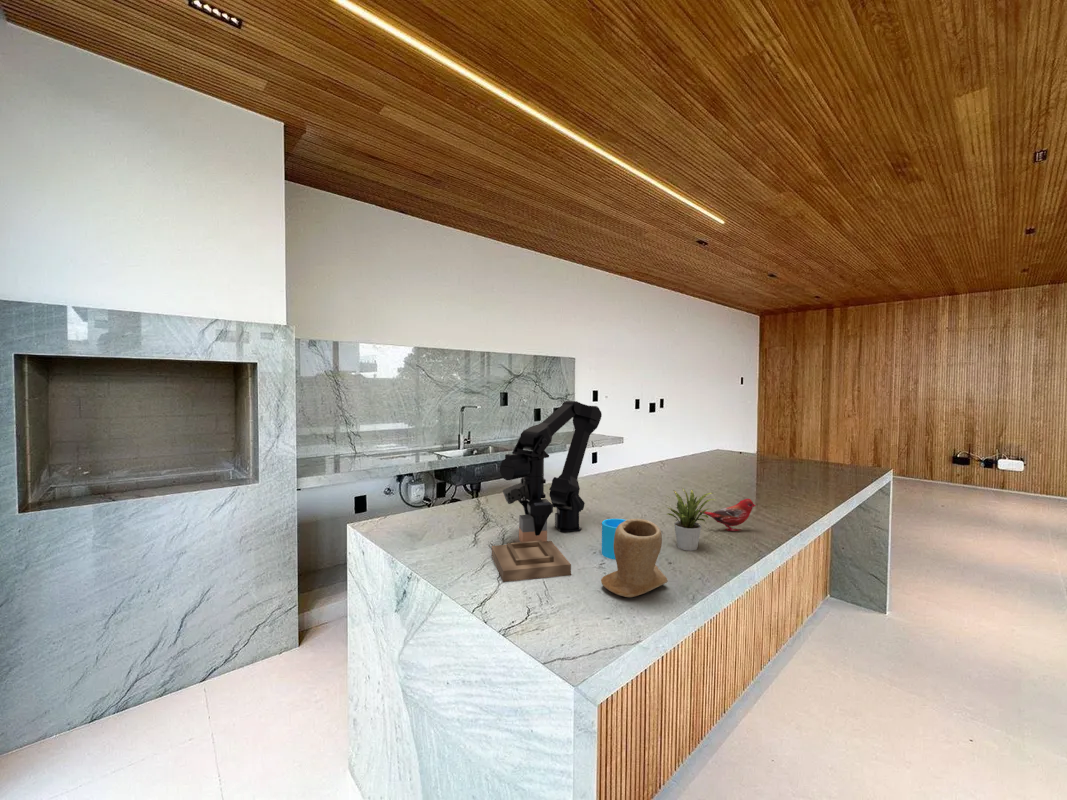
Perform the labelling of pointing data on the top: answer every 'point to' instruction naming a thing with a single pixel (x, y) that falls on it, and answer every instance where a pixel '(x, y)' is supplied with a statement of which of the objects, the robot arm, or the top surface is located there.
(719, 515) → the decorative bird figurine
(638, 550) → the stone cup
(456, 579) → the top surface
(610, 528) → the mug
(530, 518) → the block
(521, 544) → the walnut cradle stand
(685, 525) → the house plant
